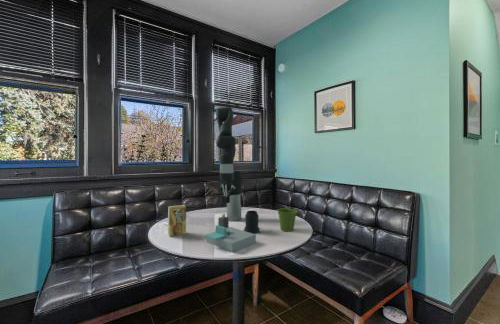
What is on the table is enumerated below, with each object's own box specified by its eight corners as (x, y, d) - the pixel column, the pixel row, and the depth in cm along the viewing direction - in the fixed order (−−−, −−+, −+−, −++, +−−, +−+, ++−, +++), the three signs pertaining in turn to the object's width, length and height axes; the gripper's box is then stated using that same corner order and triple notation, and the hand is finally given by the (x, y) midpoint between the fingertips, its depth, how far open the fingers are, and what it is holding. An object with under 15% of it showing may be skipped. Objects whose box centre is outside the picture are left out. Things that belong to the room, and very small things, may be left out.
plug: (223, 230, 130) (223, 213, 130) (228, 231, 127) (228, 214, 127) (218, 231, 127) (218, 214, 127) (223, 233, 125) (223, 215, 124)
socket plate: (230, 234, 123) (230, 226, 123) (255, 242, 111) (255, 234, 111) (206, 242, 112) (206, 234, 111) (231, 252, 99) (231, 243, 99)
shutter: (217, 233, 112) (217, 225, 112) (227, 236, 107) (227, 228, 107) (205, 236, 107) (205, 228, 107) (215, 240, 102) (215, 231, 102)
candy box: (184, 232, 127) (184, 204, 127) (186, 234, 123) (186, 206, 123) (167, 234, 122) (167, 206, 122) (169, 236, 119) (169, 207, 118)
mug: (259, 234, 124) (259, 213, 124) (242, 233, 125) (242, 213, 125) (260, 227, 136) (260, 209, 135) (245, 227, 137) (245, 208, 137)
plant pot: (296, 234, 124) (296, 213, 124) (274, 231, 128) (275, 211, 128) (298, 227, 136) (298, 209, 135) (279, 225, 139) (279, 207, 139)
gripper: (213, 171, 128) (214, 202, 128) (229, 173, 119) (230, 205, 119) (223, 171, 133) (224, 200, 134) (239, 172, 124) (240, 203, 125)
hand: (227, 202), depth 126 cm, fingers closed
